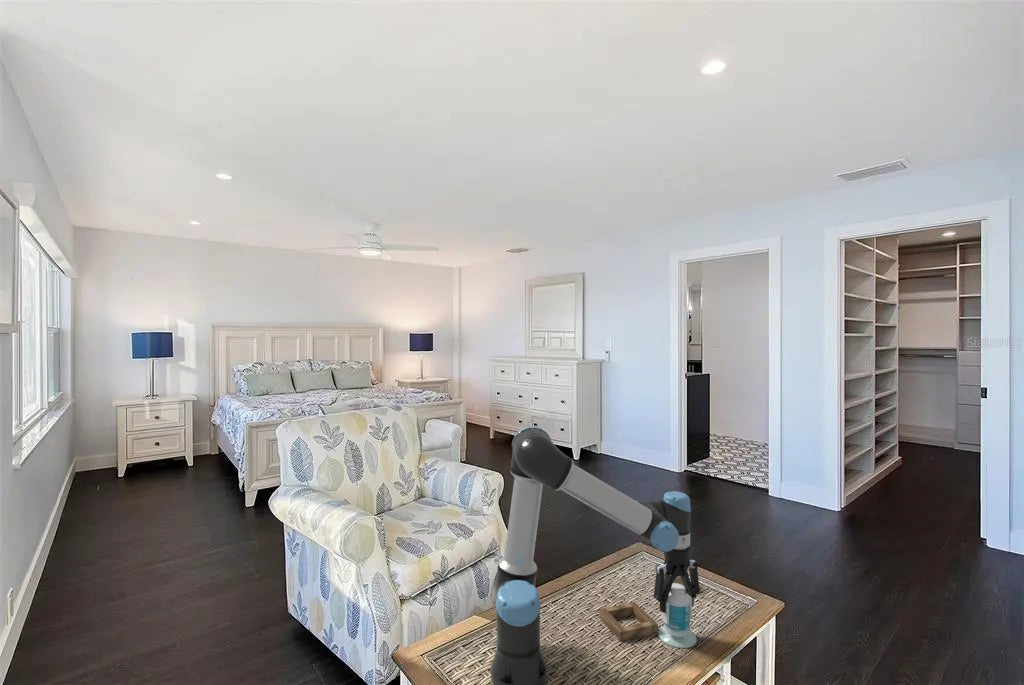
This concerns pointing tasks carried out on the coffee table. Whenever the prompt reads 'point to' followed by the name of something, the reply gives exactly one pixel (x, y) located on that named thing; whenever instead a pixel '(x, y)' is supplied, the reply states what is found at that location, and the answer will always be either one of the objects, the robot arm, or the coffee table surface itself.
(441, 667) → the coffee table surface
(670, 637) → the coaster
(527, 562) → the robot arm
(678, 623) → the pill bottle
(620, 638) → the walnut frame
